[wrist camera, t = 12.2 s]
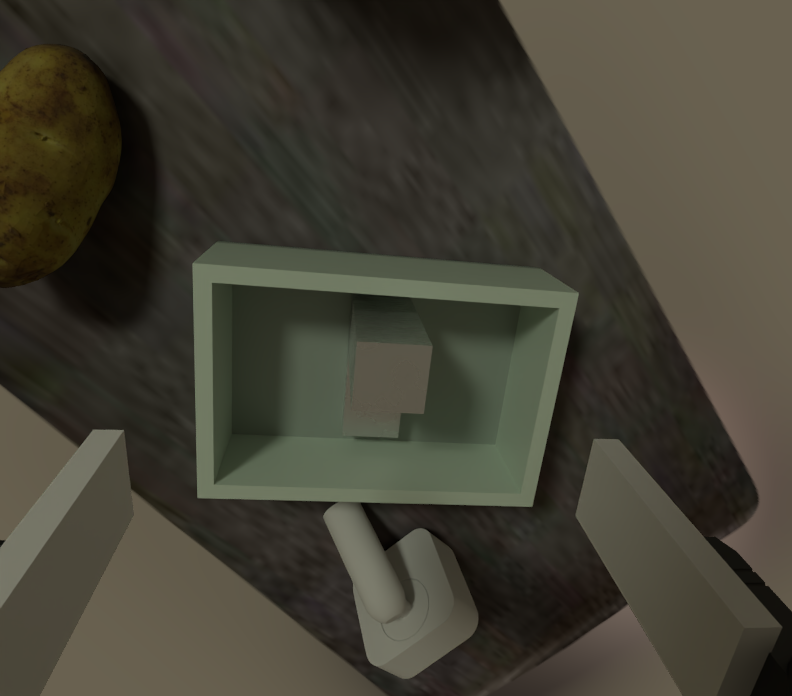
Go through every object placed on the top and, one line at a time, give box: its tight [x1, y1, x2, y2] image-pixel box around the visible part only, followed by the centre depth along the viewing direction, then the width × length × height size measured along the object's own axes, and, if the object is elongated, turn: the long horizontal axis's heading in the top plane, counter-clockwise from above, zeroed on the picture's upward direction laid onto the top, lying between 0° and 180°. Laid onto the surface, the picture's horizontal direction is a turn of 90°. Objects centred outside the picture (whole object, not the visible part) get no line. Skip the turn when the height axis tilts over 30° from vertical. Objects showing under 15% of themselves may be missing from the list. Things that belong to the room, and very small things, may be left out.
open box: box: [193, 241, 579, 507], centre depth 38 cm, size 15×22×7 cm
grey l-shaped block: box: [342, 293, 433, 438], centre depth 36 cm, size 10×4×10 cm, turn 174°
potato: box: [0, 44, 122, 288], centre depth 31 cm, size 8×13×8 cm, turn 134°
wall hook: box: [323, 502, 478, 679], centre depth 43 cm, size 8×10×10 cm
